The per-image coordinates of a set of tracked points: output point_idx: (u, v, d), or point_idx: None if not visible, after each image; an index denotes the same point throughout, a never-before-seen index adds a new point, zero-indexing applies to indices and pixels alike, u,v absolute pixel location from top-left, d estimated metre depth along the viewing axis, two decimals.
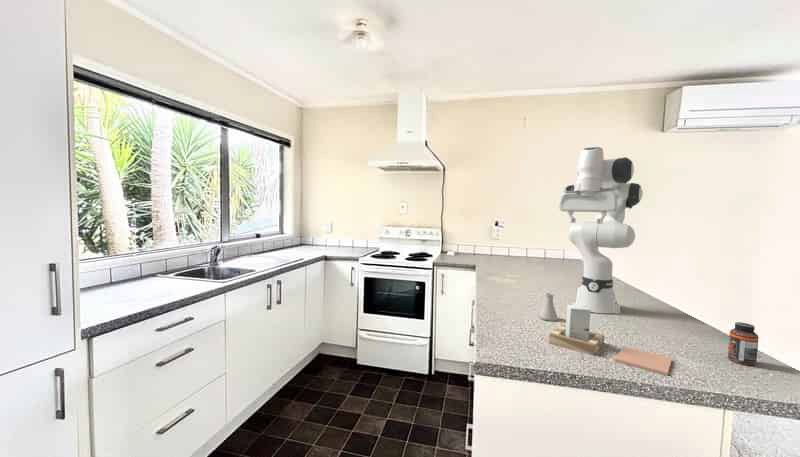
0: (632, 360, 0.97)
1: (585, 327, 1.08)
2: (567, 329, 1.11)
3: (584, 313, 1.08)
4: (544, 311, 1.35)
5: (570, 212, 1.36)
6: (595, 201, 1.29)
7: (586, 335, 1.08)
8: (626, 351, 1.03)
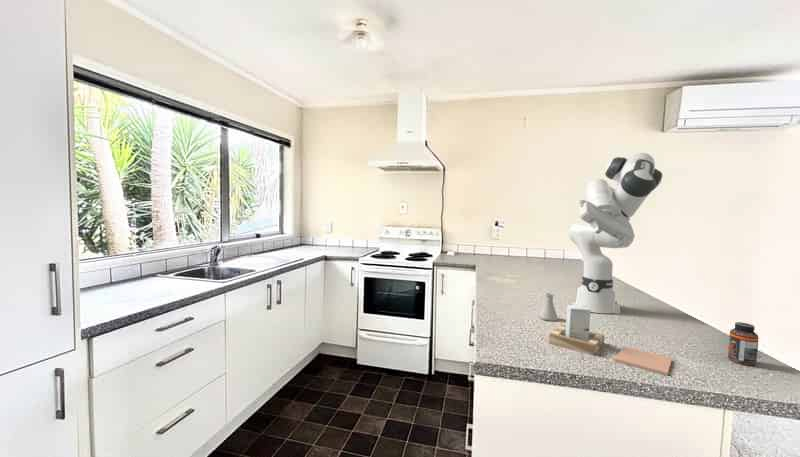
0: (632, 360, 0.97)
1: (585, 327, 1.08)
2: (567, 329, 1.11)
3: (584, 313, 1.08)
4: (544, 311, 1.35)
5: None
6: None
7: (586, 335, 1.08)
8: (626, 351, 1.03)
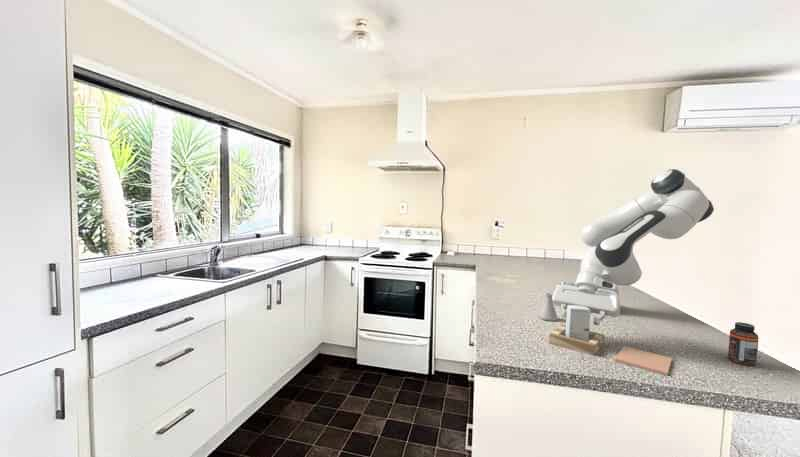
0: (632, 360, 0.97)
1: (585, 327, 1.08)
2: (567, 329, 1.11)
3: (584, 313, 1.08)
4: (544, 311, 1.35)
5: None
6: None
7: (586, 335, 1.08)
8: (626, 351, 1.03)
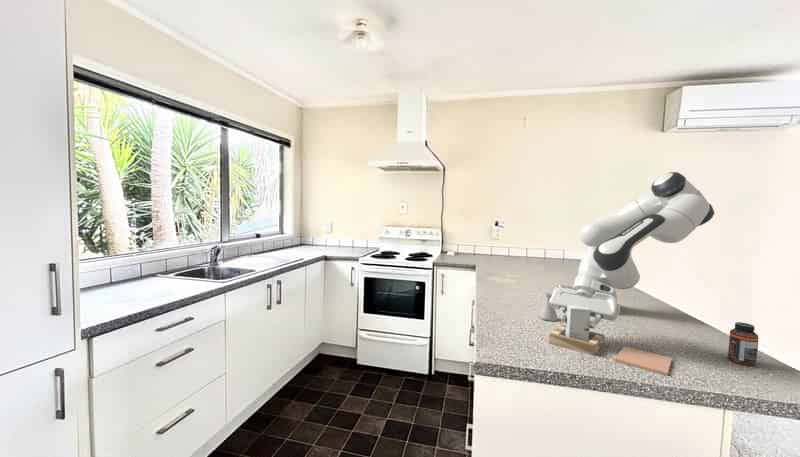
0: (632, 360, 0.97)
1: (585, 327, 1.08)
2: (567, 329, 1.11)
3: (584, 313, 1.08)
4: (544, 311, 1.35)
5: None
6: None
7: (586, 335, 1.08)
8: (626, 351, 1.03)
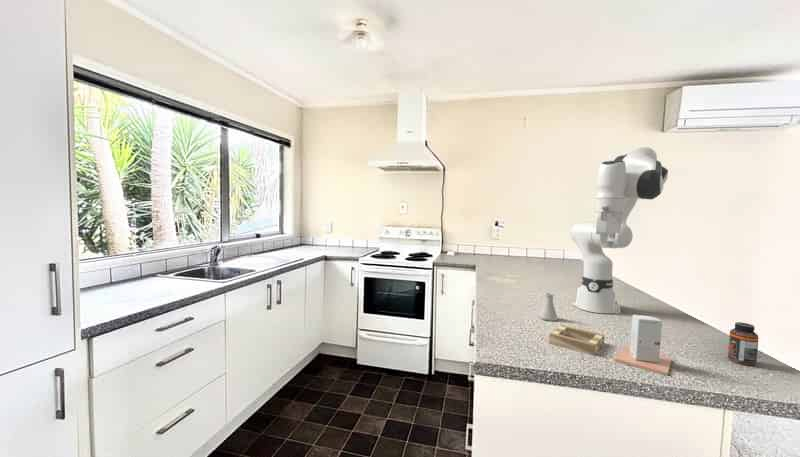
0: (632, 360, 0.97)
1: (656, 340, 0.96)
2: (633, 342, 0.99)
3: (655, 324, 0.96)
4: (544, 311, 1.35)
5: None
6: None
7: (657, 350, 0.96)
8: (626, 351, 1.03)
